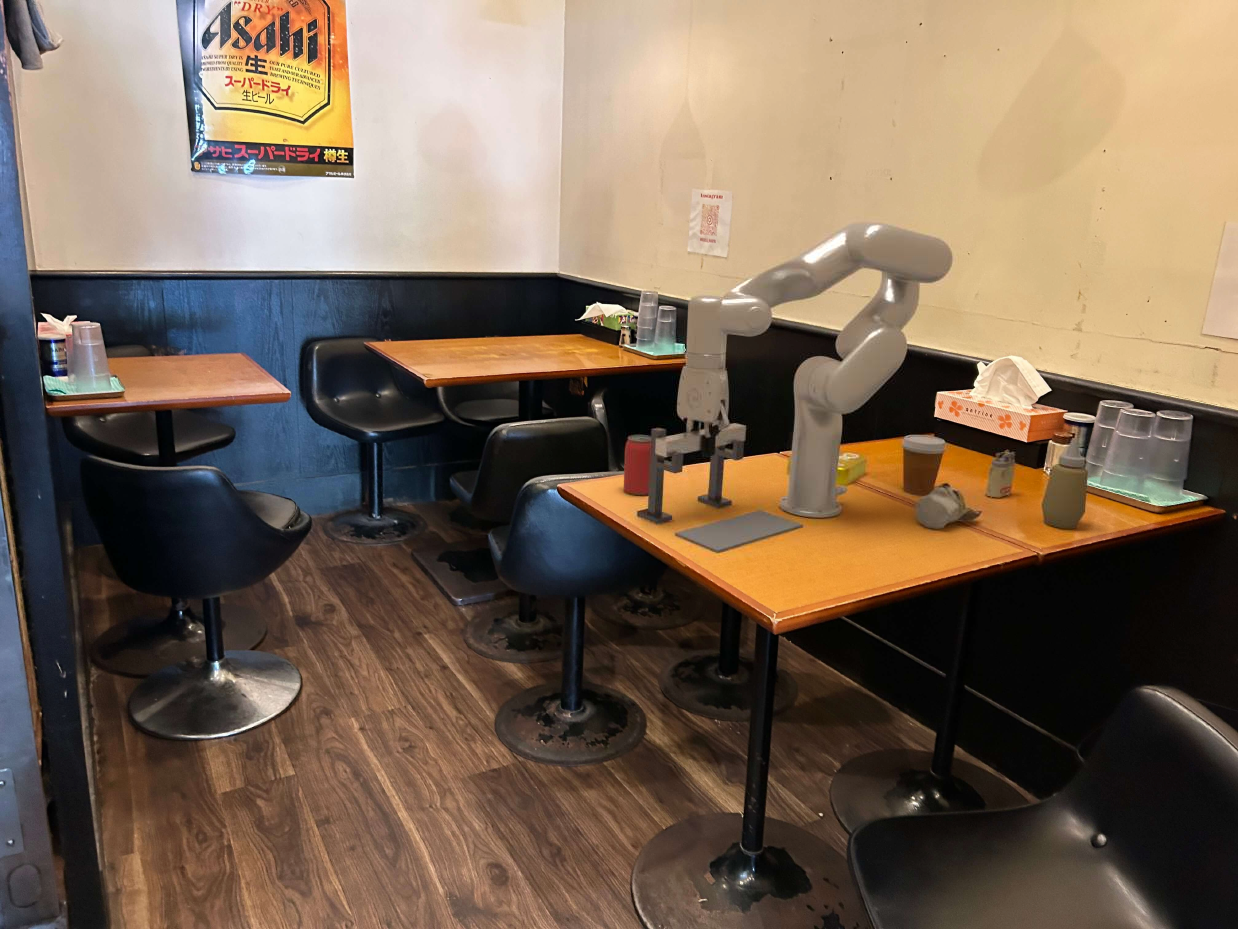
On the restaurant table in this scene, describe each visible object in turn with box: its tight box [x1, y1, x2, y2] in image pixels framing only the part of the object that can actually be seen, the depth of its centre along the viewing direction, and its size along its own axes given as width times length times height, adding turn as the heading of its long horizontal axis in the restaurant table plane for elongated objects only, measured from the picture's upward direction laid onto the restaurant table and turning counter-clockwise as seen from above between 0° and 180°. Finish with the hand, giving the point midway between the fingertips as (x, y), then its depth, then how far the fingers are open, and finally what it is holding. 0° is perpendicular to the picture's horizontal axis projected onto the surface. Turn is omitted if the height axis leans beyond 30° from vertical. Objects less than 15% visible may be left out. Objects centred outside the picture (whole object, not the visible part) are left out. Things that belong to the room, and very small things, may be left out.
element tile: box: [786, 451, 867, 486], centre depth 210 cm, size 15×15×5 cm
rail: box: [655, 422, 747, 458], centre depth 174 cm, size 22×3×3 cm, turn 130°
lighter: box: [985, 449, 1016, 498], centre depth 197 cm, size 7×4×10 cm, turn 129°
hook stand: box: [636, 427, 745, 525], centre depth 177 cm, size 21×9×18 cm, turn 130°
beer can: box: [623, 434, 651, 496], centre depth 190 cm, size 7×7×12 cm
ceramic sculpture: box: [914, 482, 982, 530], centre depth 178 cm, size 11×9×15 cm
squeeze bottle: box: [1041, 437, 1089, 529], centre depth 178 cm, size 8×8×18 cm
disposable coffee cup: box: [901, 434, 947, 496], centre depth 198 cm, size 10×10×12 cm
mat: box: [674, 509, 804, 554], centre depth 169 cm, size 24×11×1 cm, turn 130°
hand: (701, 452), depth 175 cm, fingers closed on rail, 3 cm apart
